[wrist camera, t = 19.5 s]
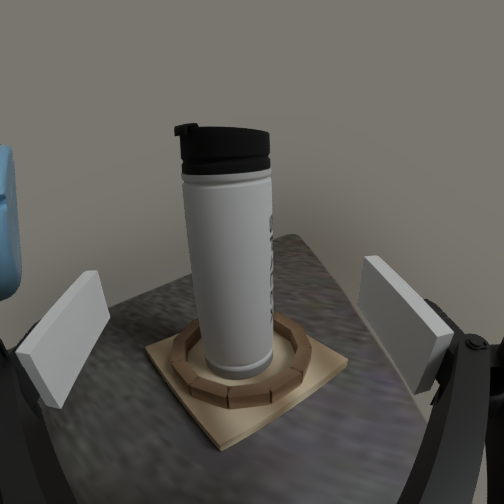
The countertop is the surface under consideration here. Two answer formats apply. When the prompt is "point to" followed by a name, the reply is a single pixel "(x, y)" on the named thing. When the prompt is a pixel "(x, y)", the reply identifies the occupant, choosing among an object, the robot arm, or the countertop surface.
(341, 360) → the mug stand
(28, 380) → the robot arm
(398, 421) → the countertop surface
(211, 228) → the travel mug
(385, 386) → the countertop surface
